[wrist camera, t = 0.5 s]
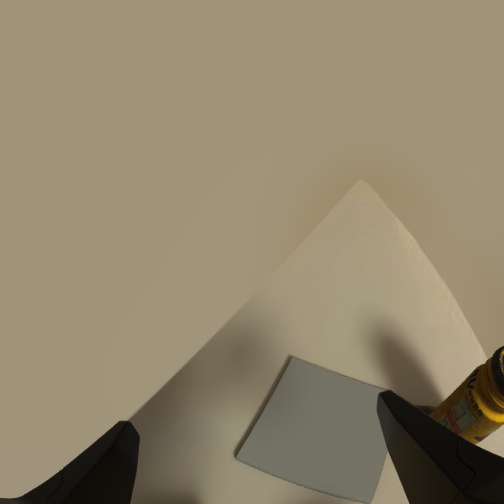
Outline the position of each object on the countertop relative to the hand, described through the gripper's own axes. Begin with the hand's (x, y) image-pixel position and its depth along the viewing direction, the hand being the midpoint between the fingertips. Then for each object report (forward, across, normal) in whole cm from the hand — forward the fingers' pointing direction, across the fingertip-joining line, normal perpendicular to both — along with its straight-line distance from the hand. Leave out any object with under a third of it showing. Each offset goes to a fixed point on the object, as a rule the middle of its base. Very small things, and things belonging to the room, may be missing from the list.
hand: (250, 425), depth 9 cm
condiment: (+7, -15, +18) cm, 24 cm away
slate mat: (+10, -4, +14) cm, 18 cm away
